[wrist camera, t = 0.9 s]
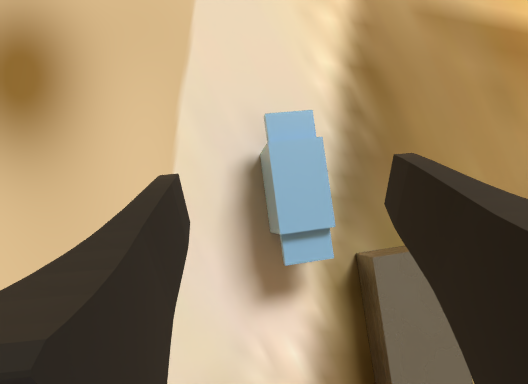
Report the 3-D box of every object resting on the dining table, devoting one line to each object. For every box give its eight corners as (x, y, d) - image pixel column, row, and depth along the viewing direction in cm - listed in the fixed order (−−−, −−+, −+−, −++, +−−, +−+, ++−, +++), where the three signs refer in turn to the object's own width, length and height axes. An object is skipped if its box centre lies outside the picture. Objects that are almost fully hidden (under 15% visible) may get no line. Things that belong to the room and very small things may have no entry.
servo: (320, 252, 27) (340, 258, 23) (273, 259, 26) (284, 267, 22) (302, 124, 28) (317, 106, 23) (256, 128, 27) (263, 110, 23)
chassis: (585, 474, 28) (628, 504, 25) (397, 531, 26) (420, 571, 23) (538, 225, 30) (573, 225, 27) (355, 253, 27) (372, 257, 24)
